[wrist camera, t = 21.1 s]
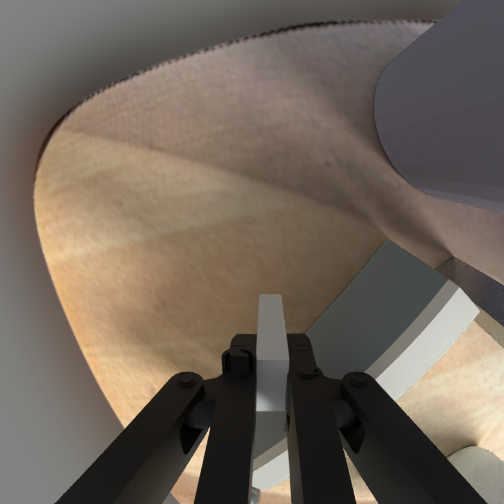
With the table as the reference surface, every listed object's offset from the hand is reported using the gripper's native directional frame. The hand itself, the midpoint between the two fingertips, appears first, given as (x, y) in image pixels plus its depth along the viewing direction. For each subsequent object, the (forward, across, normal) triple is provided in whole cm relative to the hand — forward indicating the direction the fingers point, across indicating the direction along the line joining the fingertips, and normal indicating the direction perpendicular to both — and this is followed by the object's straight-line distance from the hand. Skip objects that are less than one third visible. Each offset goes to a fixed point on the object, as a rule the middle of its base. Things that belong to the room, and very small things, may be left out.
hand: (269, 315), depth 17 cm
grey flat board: (+2, +4, -2) cm, 5 cm away
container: (+2, +11, +12) cm, 17 cm away
